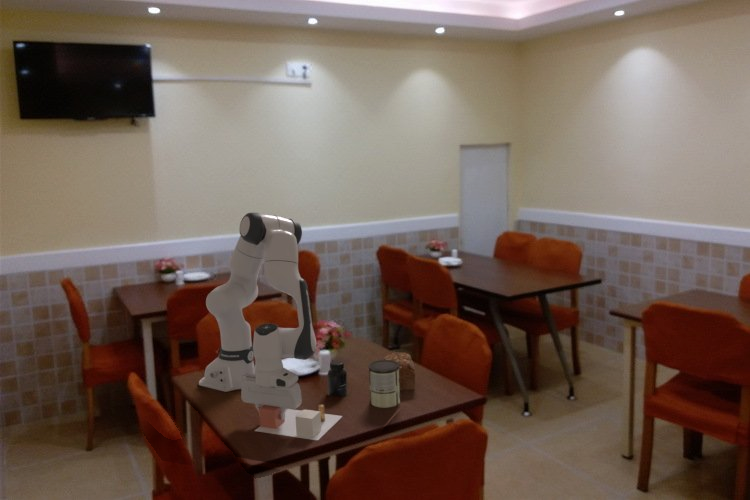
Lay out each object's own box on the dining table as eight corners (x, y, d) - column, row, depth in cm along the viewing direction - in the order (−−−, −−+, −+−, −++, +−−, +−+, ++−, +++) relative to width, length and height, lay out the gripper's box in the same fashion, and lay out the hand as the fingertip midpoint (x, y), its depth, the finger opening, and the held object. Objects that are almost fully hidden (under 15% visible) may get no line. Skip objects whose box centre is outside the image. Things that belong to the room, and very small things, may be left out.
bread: (416, 391, 232) (415, 364, 231) (386, 392, 232) (385, 366, 230) (411, 372, 251) (410, 347, 249) (383, 374, 250) (382, 349, 249)
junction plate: (254, 433, 203) (254, 430, 203) (283, 410, 219) (283, 408, 219) (317, 443, 195) (317, 440, 195) (342, 419, 211) (342, 416, 211)
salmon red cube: (260, 426, 205) (259, 408, 204) (269, 419, 211) (268, 401, 210) (275, 428, 203) (274, 410, 202) (284, 421, 209) (283, 403, 208)
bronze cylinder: (317, 421, 208) (316, 406, 207) (320, 418, 210) (319, 404, 209) (323, 422, 207) (322, 407, 206) (326, 419, 209) (325, 404, 208)
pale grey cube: (296, 435, 199) (295, 416, 198) (305, 427, 204) (304, 409, 203) (313, 437, 196) (312, 418, 195) (321, 429, 202) (320, 411, 201)
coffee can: (365, 401, 225) (364, 362, 222) (393, 396, 228) (392, 357, 226) (376, 412, 215) (375, 372, 213) (405, 407, 219) (404, 367, 216)
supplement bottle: (345, 399, 227) (343, 366, 225) (326, 398, 229) (324, 365, 227) (349, 391, 234) (348, 359, 232) (331, 390, 235) (329, 359, 233)
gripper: (235, 376, 205) (238, 417, 208) (293, 382, 198) (295, 425, 200) (246, 369, 211) (249, 409, 213) (302, 375, 204) (305, 417, 206)
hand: (272, 417), depth 207 cm, fingers closed on salmon red cube, 6 cm apart
